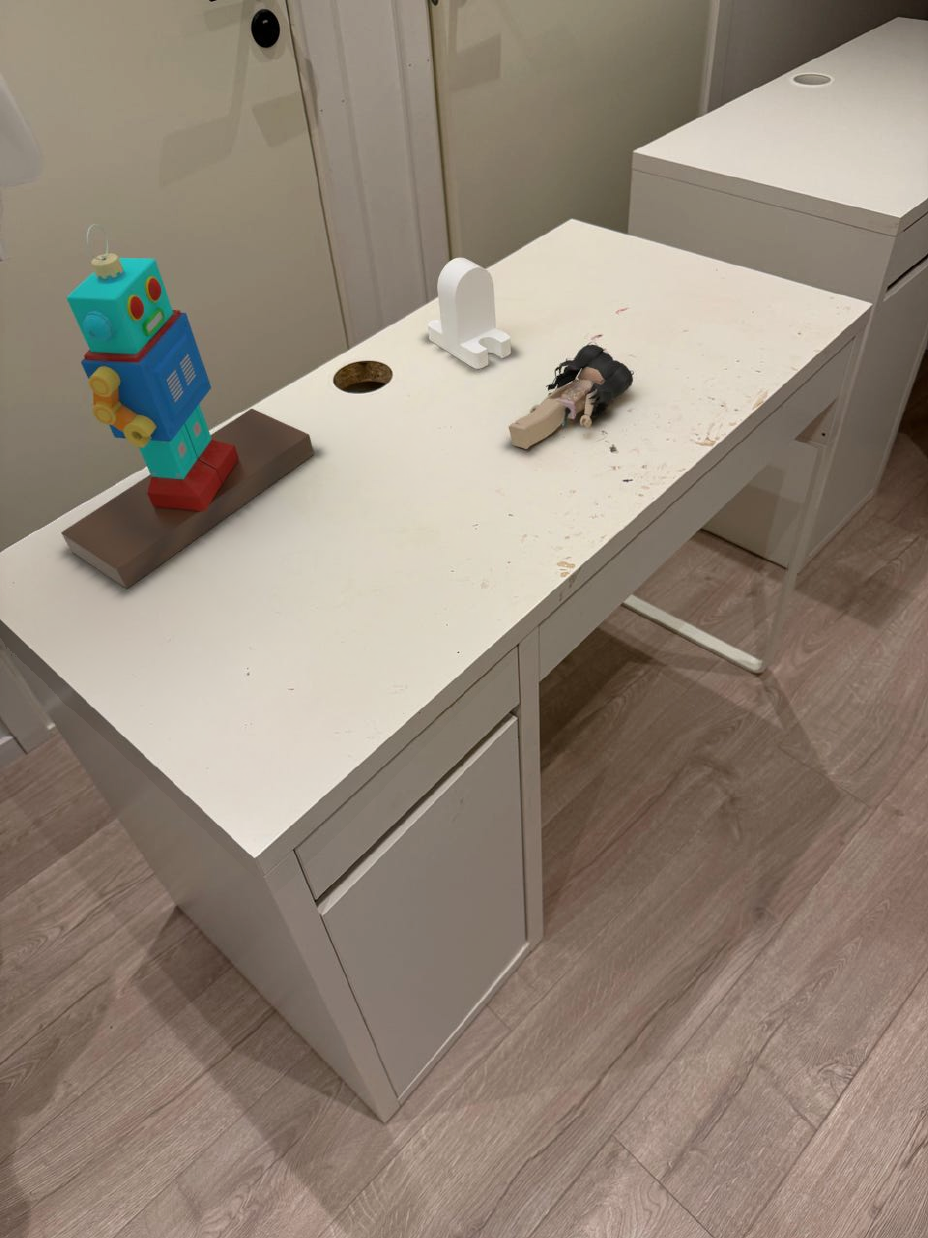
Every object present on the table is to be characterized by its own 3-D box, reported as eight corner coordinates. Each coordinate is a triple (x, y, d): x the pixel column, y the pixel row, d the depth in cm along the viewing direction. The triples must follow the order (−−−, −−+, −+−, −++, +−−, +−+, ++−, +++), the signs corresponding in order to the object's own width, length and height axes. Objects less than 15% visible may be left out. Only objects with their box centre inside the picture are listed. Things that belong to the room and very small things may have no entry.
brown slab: (126, 589, 80) (116, 569, 78) (71, 552, 85) (60, 532, 83) (314, 454, 92) (309, 434, 90) (257, 427, 96) (251, 407, 95)
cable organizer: (477, 370, 100) (470, 286, 93) (427, 338, 106) (416, 256, 99) (513, 352, 102) (509, 268, 95) (462, 322, 108) (454, 241, 101)
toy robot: (197, 524, 82) (90, 260, 64) (139, 518, 83) (18, 258, 65) (246, 449, 89) (163, 194, 71) (192, 445, 91) (97, 194, 73)
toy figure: (563, 467, 87) (642, 388, 94) (554, 413, 83) (638, 334, 90) (506, 452, 91) (586, 377, 98) (495, 399, 87) (579, 325, 94)
